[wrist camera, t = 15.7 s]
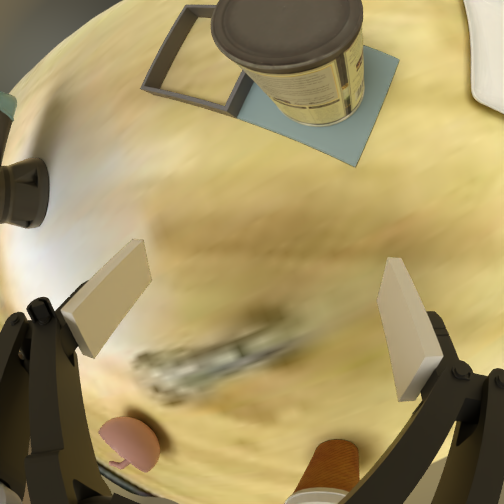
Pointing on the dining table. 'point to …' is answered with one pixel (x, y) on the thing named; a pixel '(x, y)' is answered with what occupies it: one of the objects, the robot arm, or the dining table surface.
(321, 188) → the dining table surface
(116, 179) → the dining table surface
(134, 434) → the pink apple
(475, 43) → the salad plate
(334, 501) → the disposable coffee cup
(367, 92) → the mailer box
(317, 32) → the coffee can
